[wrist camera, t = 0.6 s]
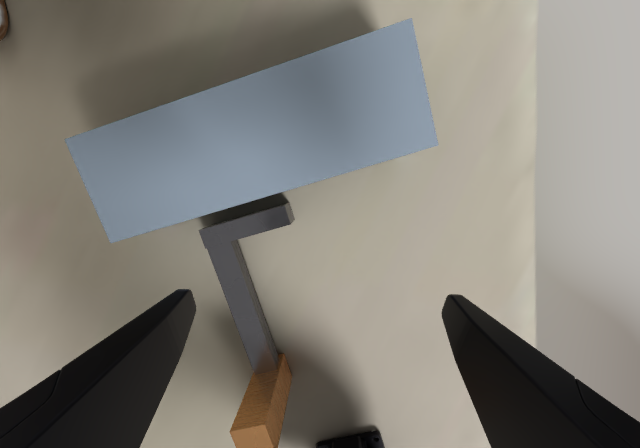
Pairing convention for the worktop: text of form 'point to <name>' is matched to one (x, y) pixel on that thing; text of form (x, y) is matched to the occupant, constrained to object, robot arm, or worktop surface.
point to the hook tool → (252, 328)
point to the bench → (259, 134)
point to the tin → (3, 19)
